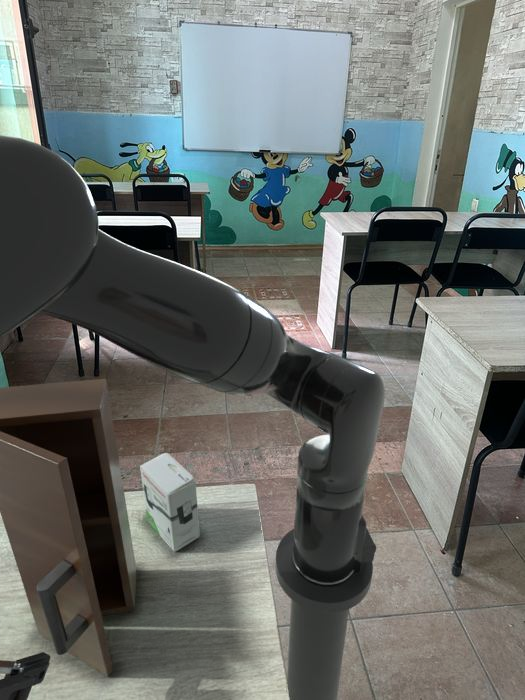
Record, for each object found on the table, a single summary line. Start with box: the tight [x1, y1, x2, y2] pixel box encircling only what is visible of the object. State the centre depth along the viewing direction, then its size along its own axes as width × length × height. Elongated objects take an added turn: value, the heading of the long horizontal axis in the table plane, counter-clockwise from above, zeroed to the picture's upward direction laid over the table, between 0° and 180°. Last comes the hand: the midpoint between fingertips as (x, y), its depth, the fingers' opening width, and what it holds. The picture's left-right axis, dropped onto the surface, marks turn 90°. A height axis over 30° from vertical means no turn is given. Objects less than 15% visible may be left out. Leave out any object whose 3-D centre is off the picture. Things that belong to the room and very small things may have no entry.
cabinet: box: [0, 378, 137, 616], centre depth 59 cm, size 6×12×32 cm, turn 101°
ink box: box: [139, 452, 200, 553], centre depth 74 cm, size 9×5×12 cm, turn 42°
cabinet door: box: [0, 431, 114, 678], centre depth 50 cm, size 5×12×32 cm, turn 63°
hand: (9, 646), depth 45 cm, fingers open, 8 cm apart
